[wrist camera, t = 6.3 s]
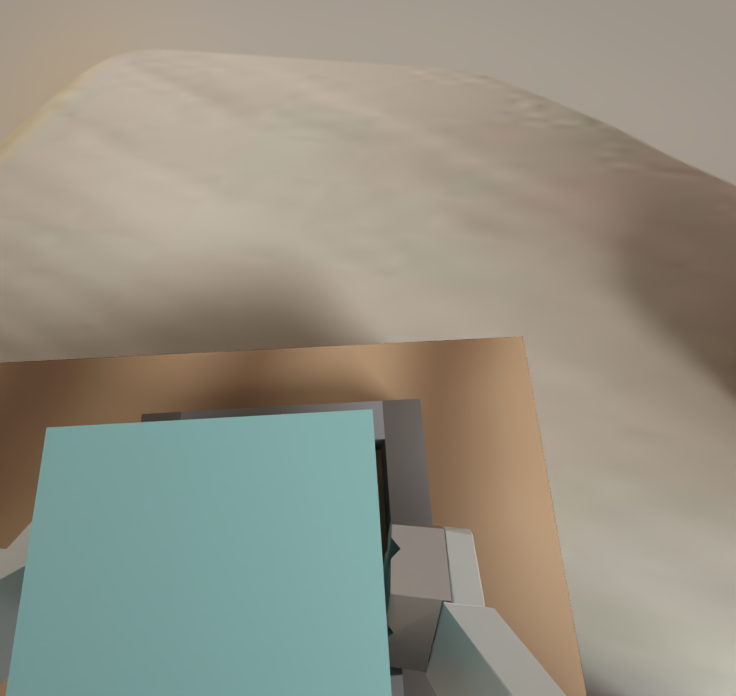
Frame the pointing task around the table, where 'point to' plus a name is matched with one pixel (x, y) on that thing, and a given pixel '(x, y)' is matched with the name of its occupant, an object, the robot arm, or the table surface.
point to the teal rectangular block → (206, 561)
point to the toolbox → (392, 447)
